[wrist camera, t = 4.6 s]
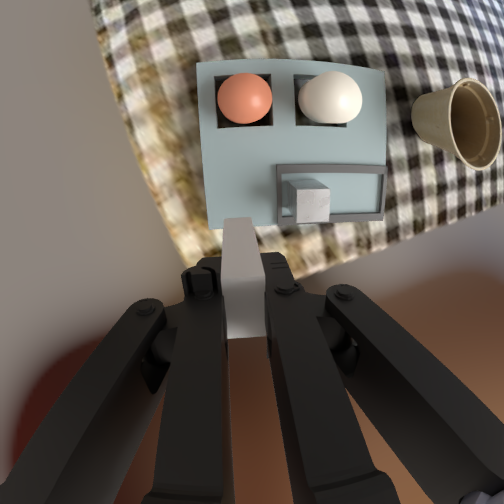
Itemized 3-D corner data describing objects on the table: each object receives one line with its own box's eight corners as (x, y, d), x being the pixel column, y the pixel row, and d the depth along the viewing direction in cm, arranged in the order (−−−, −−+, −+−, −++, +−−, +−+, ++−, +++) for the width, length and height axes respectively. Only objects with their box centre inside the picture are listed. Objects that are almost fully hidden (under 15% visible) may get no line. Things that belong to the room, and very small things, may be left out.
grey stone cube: (287, 180, 25) (296, 189, 21) (316, 179, 25) (330, 188, 21) (287, 208, 26) (296, 223, 22) (315, 207, 26) (329, 221, 23)
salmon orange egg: (218, 82, 22) (216, 74, 19) (265, 80, 22) (270, 72, 19) (220, 125, 24) (218, 124, 20) (267, 123, 24) (273, 122, 21)
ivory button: (296, 77, 21) (308, 68, 17) (342, 80, 21) (361, 74, 17) (298, 122, 22) (311, 121, 19) (344, 124, 23) (362, 125, 19)
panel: (199, 68, 22) (195, 61, 19) (373, 74, 23) (386, 70, 20) (210, 221, 29) (208, 231, 26) (370, 212, 29) (382, 221, 27)
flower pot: (386, 92, 23) (435, 87, 16) (438, 74, 22) (487, 72, 14) (414, 166, 27) (462, 184, 20) (460, 142, 26) (507, 154, 18)
